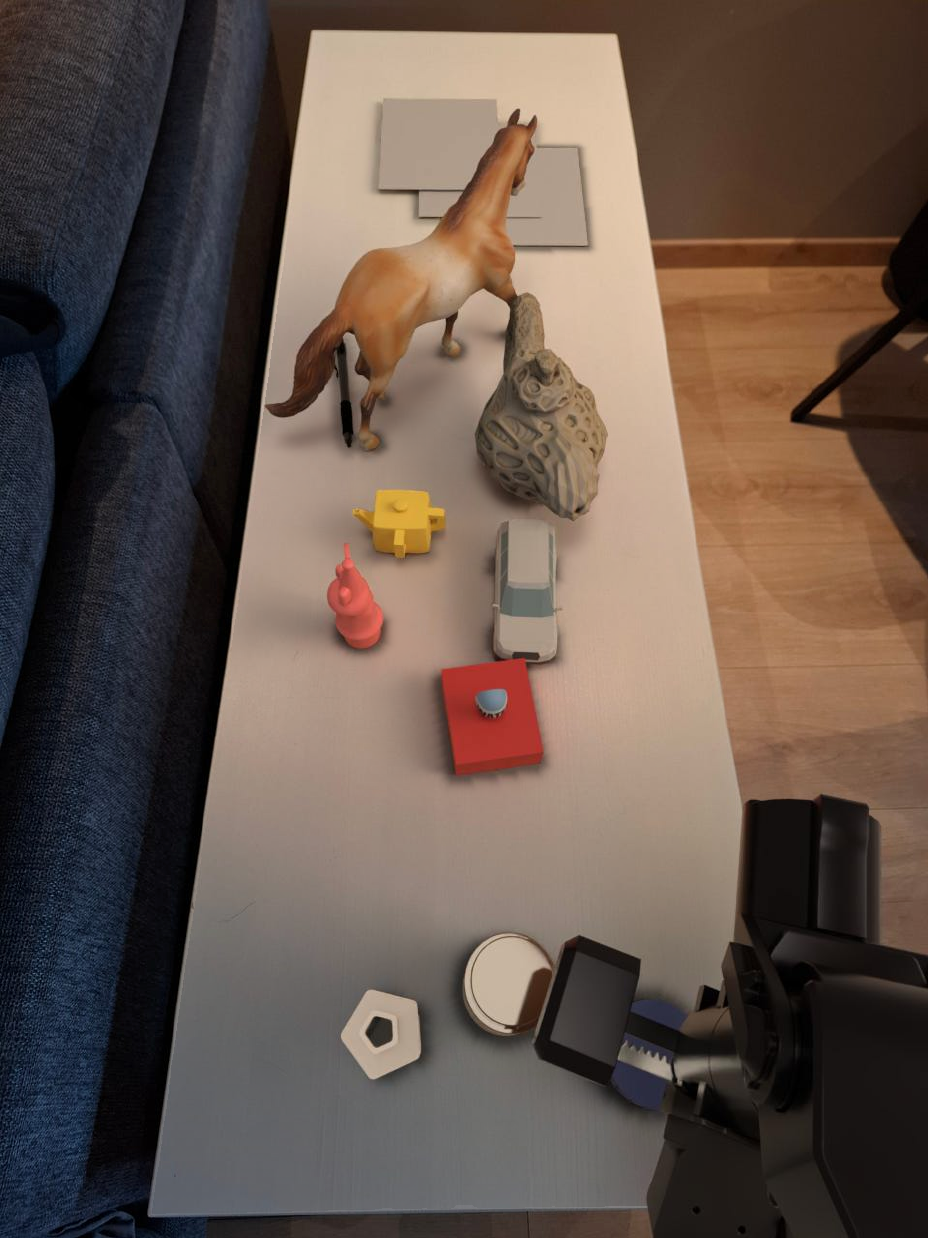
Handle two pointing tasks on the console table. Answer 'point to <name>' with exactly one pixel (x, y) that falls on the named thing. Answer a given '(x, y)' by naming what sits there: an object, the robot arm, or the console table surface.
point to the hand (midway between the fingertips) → (686, 1062)
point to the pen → (344, 394)
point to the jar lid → (631, 1079)
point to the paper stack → (448, 158)
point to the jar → (507, 983)
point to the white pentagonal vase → (383, 1033)
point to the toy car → (525, 592)
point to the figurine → (354, 605)
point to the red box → (491, 716)
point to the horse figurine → (420, 282)
